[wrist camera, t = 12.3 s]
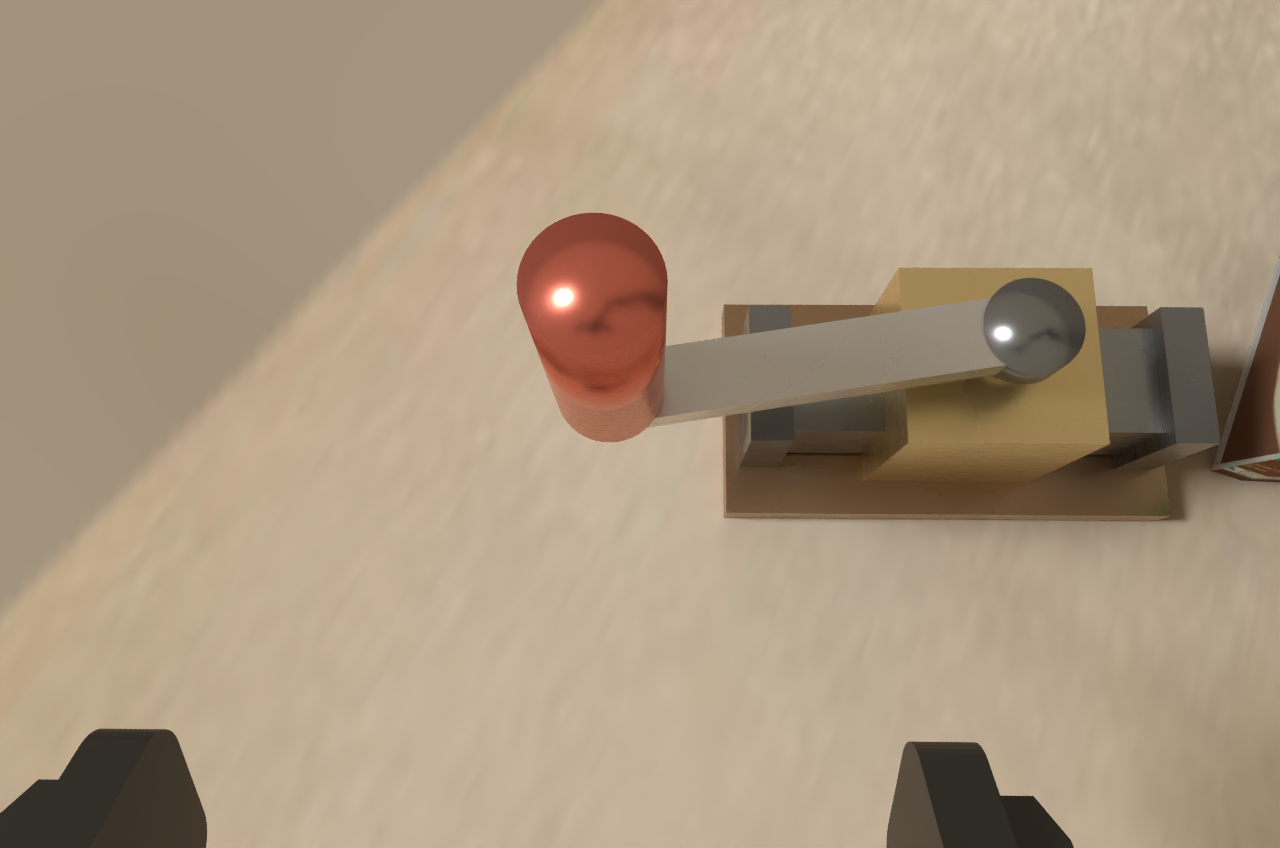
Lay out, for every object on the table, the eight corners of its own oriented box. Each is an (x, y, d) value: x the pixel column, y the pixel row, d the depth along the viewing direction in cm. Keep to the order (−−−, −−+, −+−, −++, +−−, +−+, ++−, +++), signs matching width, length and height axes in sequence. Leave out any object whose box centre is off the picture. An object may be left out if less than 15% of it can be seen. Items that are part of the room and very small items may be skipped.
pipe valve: (1132, 317, 39) (1272, 216, 30) (1154, 520, 37) (1311, 477, 28) (722, 315, 39) (741, 214, 30) (724, 517, 37) (745, 473, 28)
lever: (1053, 283, 29) (1228, 119, 20) (1079, 380, 28) (1272, 253, 20) (553, 358, 29) (508, 224, 20) (567, 457, 28) (526, 365, 19)
